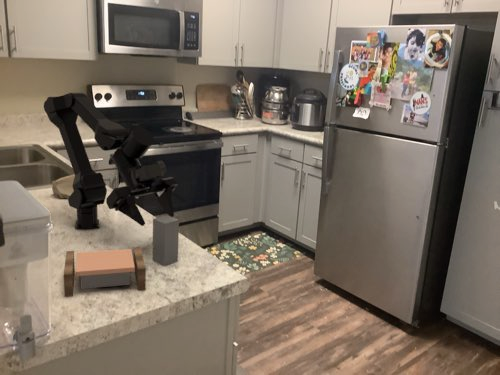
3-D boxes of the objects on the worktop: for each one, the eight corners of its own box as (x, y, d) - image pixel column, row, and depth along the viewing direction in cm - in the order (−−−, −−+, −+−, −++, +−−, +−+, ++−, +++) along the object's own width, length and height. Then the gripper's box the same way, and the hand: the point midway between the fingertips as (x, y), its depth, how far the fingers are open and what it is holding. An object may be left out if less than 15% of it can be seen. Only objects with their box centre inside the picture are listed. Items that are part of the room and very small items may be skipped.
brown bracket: (67, 271, 107) (66, 251, 105) (140, 266, 112) (140, 246, 110) (64, 296, 96) (63, 274, 94) (145, 289, 101) (145, 268, 100)
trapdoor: (77, 268, 106) (76, 252, 105) (131, 264, 110) (131, 249, 109) (75, 289, 97) (75, 271, 96) (134, 284, 101) (134, 267, 100)
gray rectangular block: (152, 260, 115) (153, 218, 112) (165, 255, 119) (166, 215, 116) (164, 266, 113) (165, 223, 110) (177, 260, 116) (178, 219, 113)
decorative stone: (98, 197, 161) (98, 175, 159) (53, 200, 155) (52, 177, 153) (95, 191, 168) (94, 169, 166) (52, 193, 162) (51, 171, 160)
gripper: (112, 155, 106) (143, 212, 103) (173, 146, 120) (202, 196, 117) (93, 181, 113) (121, 236, 109) (153, 170, 127) (180, 218, 124)
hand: (158, 220), depth 115 cm, fingers open, 9 cm apart
